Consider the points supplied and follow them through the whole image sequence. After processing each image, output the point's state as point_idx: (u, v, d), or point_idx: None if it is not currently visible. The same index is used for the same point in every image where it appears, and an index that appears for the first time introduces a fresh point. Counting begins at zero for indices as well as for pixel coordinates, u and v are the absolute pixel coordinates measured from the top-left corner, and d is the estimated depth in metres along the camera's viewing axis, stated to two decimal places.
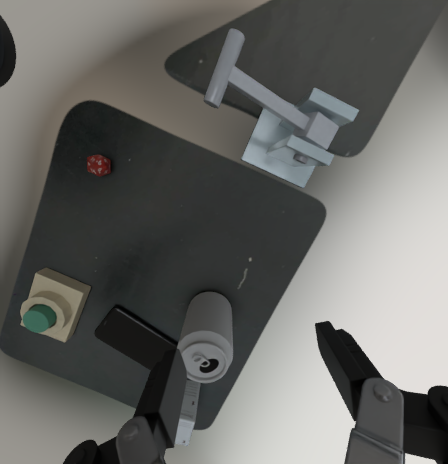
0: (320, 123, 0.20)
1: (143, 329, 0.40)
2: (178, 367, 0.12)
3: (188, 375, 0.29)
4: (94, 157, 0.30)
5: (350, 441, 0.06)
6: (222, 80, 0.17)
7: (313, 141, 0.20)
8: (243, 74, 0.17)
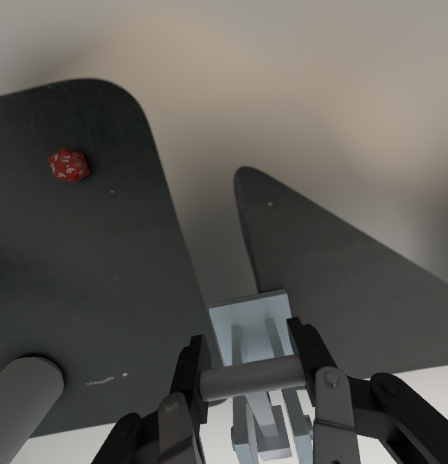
0: (280, 451, 0.15)
1: None
2: (204, 351, 0.13)
3: None
4: (71, 158, 0.20)
5: (314, 433, 0.07)
6: (237, 395, 0.11)
7: (259, 454, 0.16)
8: (264, 398, 0.11)
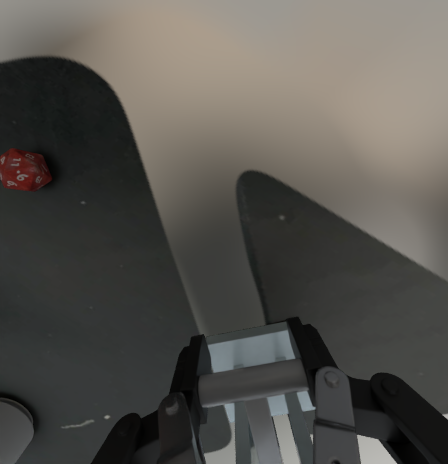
0: None
1: None
2: (204, 351, 0.13)
3: None
4: (23, 161, 0.15)
5: (314, 433, 0.07)
6: (236, 397, 0.10)
7: None
8: (267, 415, 0.10)
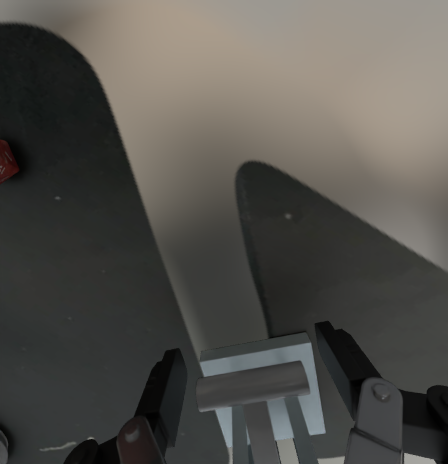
0: None
1: None
2: (178, 367, 0.12)
3: None
4: None
5: (349, 440, 0.06)
6: (234, 398, 0.10)
7: None
8: (267, 423, 0.10)
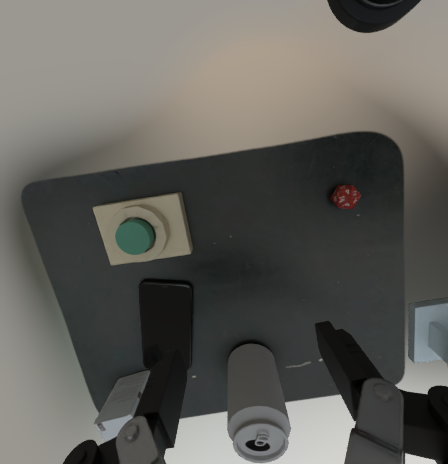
0: None
1: (186, 323, 0.34)
2: (178, 367, 0.12)
3: (236, 440, 0.25)
4: (357, 192, 0.26)
5: (350, 441, 0.06)
6: None
7: None
8: None
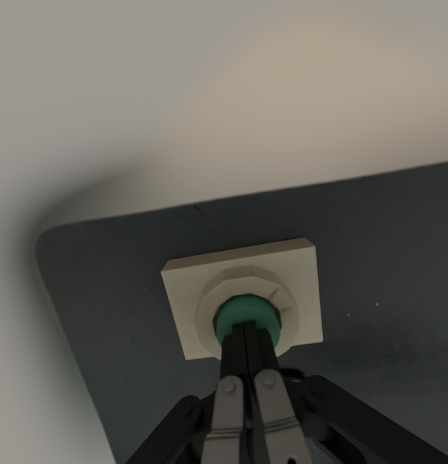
0: None
1: None
2: (246, 339, 0.13)
3: None
4: None
5: (267, 441, 0.07)
6: None
7: None
8: None
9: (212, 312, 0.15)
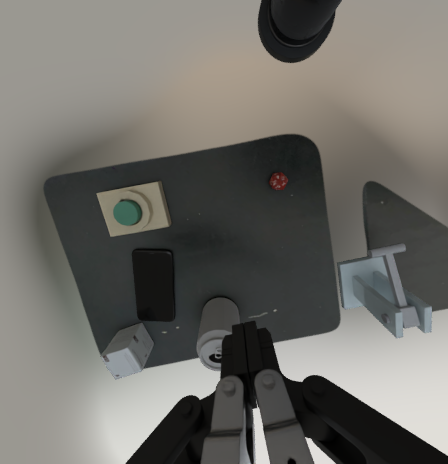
0: (411, 312, 0.33)
1: (168, 281, 0.44)
2: (246, 339, 0.13)
3: (201, 353, 0.36)
4: (285, 178, 0.37)
5: (267, 441, 0.07)
6: (383, 252, 0.34)
7: None
8: (393, 259, 0.34)
9: (114, 206, 0.37)
